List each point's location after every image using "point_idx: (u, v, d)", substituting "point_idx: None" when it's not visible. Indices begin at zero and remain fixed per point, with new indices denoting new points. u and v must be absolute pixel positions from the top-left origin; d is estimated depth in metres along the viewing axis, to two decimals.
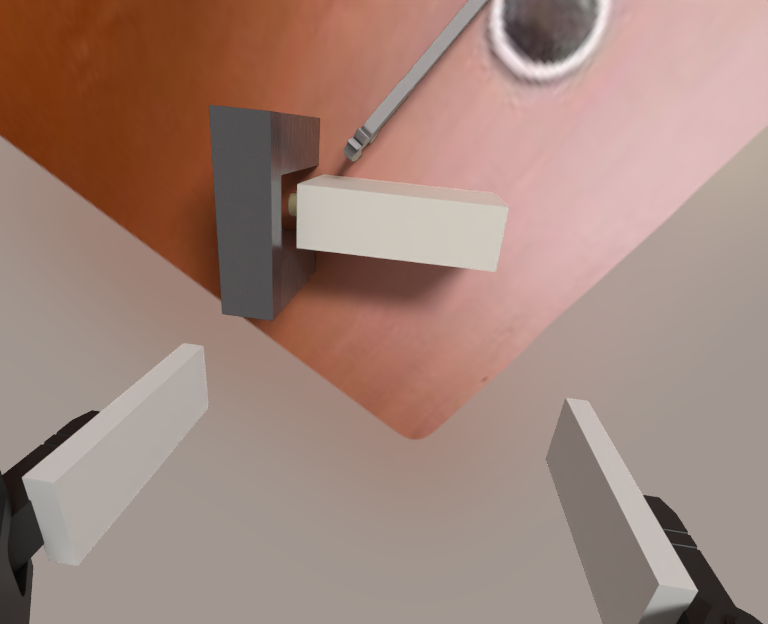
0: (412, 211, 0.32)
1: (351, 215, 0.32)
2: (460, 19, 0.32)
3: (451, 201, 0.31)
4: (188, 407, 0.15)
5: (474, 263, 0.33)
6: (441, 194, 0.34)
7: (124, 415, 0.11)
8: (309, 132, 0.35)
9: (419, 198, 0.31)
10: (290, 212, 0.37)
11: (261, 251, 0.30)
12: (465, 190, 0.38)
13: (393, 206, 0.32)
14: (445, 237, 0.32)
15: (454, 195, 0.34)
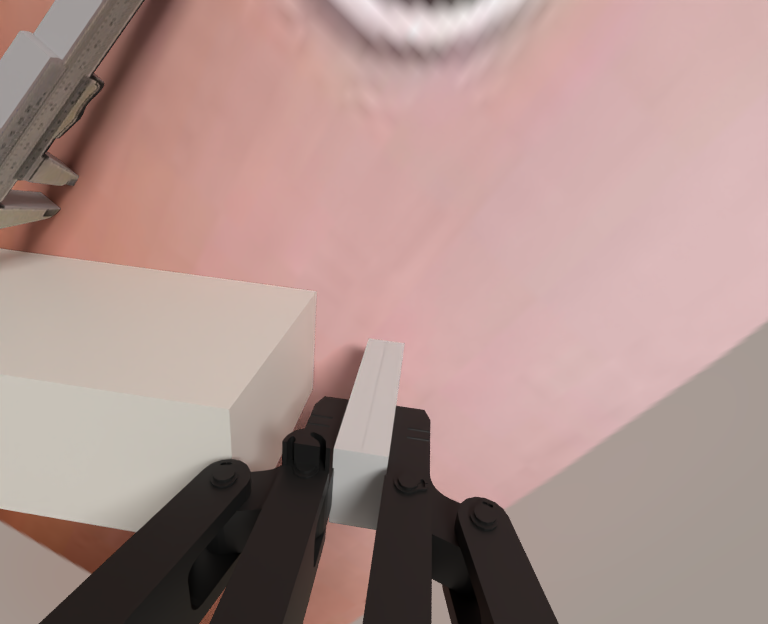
0: None
1: None
2: None
3: (69, 384, 0.11)
4: None
5: None
6: (121, 329, 0.13)
7: (371, 399, 0.13)
8: None
9: None
10: None
11: None
12: (248, 289, 0.17)
13: None
14: (83, 468, 0.12)
15: (159, 329, 0.14)
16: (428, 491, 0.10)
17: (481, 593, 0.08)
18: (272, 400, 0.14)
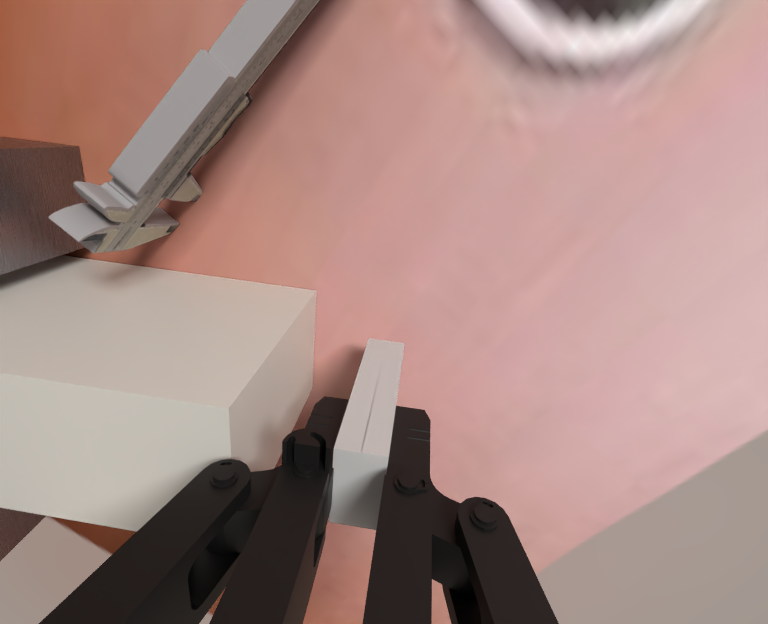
0: None
1: None
2: None
3: (68, 382, 0.11)
4: None
5: None
6: (120, 327, 0.13)
7: (371, 399, 0.13)
8: (5, 187, 0.14)
9: None
10: None
11: None
12: (248, 288, 0.17)
13: None
14: (83, 467, 0.12)
15: (158, 328, 0.14)
16: (428, 491, 0.10)
17: (481, 593, 0.08)
18: (272, 399, 0.14)
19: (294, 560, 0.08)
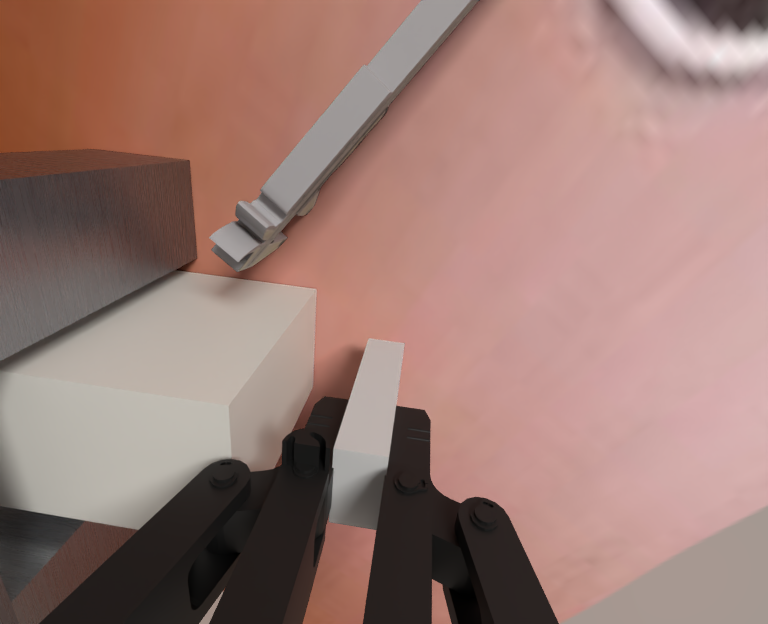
0: None
1: None
2: None
3: (68, 380, 0.11)
4: None
5: None
6: (121, 326, 0.13)
7: (371, 399, 0.13)
8: (136, 204, 0.14)
9: None
10: None
11: None
12: (248, 287, 0.17)
13: None
14: (84, 465, 0.12)
15: (158, 327, 0.14)
16: (428, 491, 0.10)
17: (481, 593, 0.08)
18: (272, 397, 0.14)
19: (294, 560, 0.08)
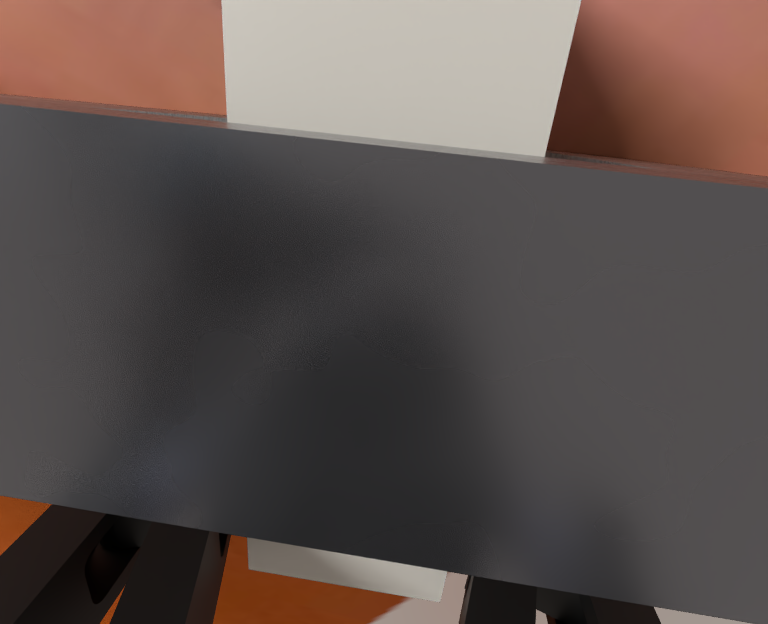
0: None
1: None
2: None
3: (229, 43, 0.06)
4: None
5: None
6: None
7: None
8: None
9: None
10: None
11: (568, 281, 0.03)
12: None
13: None
14: (408, 63, 0.06)
15: None
16: None
17: None
18: None
19: (196, 550, 0.08)
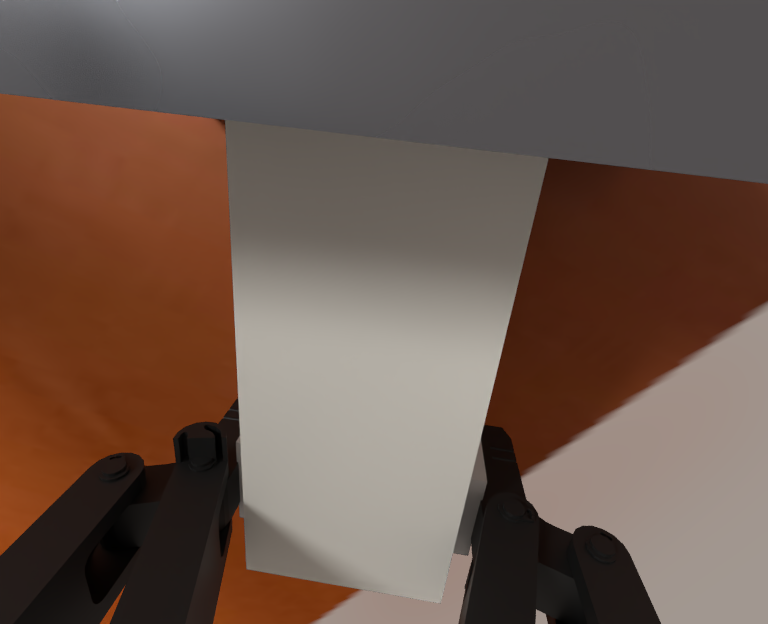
0: (291, 230, 0.07)
1: (327, 450, 0.09)
2: None
3: None
4: None
5: None
6: None
7: None
8: None
9: (233, 196, 0.07)
10: None
11: None
12: None
13: (277, 304, 0.08)
14: None
15: None
16: (535, 523, 0.10)
17: None
18: None
19: (197, 550, 0.08)
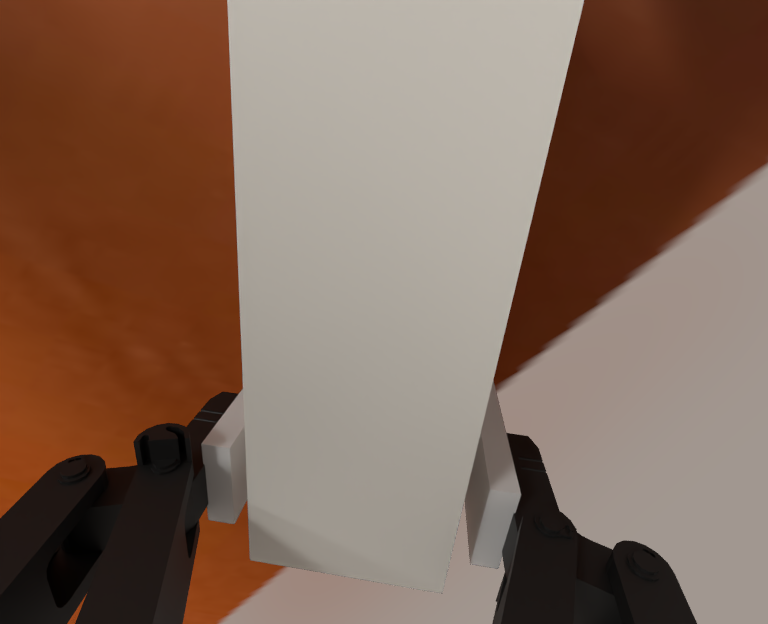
0: (296, 221, 0.07)
1: (330, 440, 0.09)
2: None
3: (233, 23, 0.06)
4: None
5: None
6: None
7: None
8: None
9: (239, 188, 0.07)
10: None
11: None
12: None
13: (281, 295, 0.08)
14: (415, 43, 0.06)
15: None
16: (573, 540, 0.09)
17: None
18: None
19: (162, 551, 0.08)
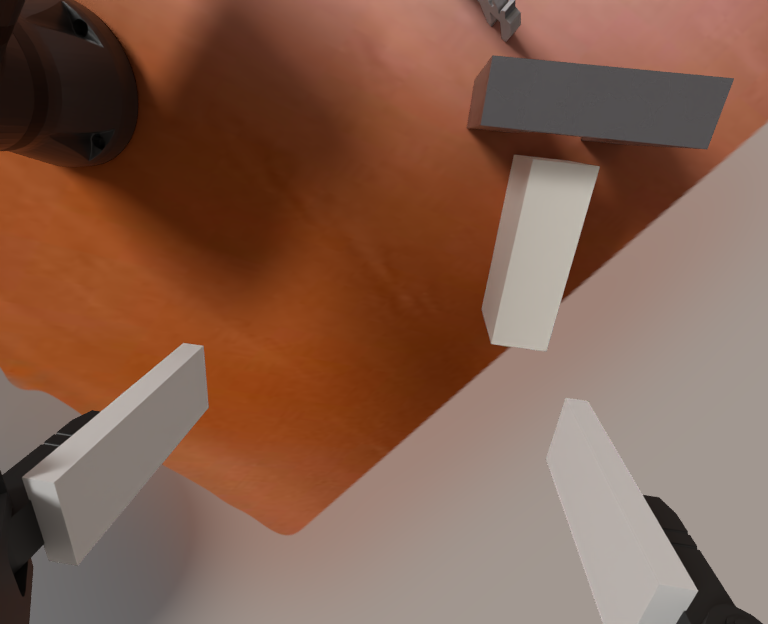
0: (525, 250, 0.35)
1: (522, 303, 0.37)
2: None
3: (520, 214, 0.34)
4: (188, 407, 0.15)
5: (586, 189, 0.32)
6: (512, 216, 0.37)
7: (124, 415, 0.11)
8: None
9: (514, 243, 0.35)
10: None
11: (638, 84, 0.26)
12: (509, 184, 0.40)
13: (518, 266, 0.35)
14: (555, 219, 0.34)
15: (514, 204, 0.37)
16: None
17: None
18: (547, 159, 0.35)
19: None
